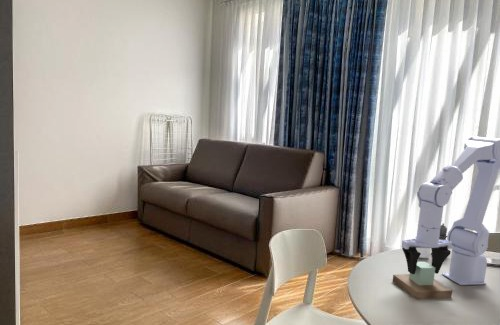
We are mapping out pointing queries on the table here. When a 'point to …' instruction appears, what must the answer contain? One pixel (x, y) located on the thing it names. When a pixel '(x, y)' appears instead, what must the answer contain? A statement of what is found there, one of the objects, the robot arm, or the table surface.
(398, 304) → the table surface
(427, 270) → the sage block
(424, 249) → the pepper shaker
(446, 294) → the walnut base
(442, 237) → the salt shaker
